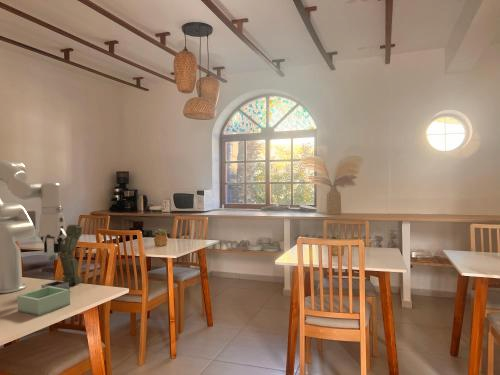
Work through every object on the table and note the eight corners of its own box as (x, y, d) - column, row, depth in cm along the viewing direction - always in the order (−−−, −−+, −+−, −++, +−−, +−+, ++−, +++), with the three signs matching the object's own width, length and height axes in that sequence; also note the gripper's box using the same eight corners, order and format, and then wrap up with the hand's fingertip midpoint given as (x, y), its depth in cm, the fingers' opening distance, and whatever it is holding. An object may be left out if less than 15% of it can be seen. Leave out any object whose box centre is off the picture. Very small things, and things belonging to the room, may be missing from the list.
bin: (18, 311, 137) (17, 295, 137) (50, 300, 149) (49, 286, 149) (38, 316, 131) (37, 300, 131) (70, 304, 143) (69, 289, 143)
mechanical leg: (64, 288, 162) (72, 223, 168) (50, 288, 163) (59, 223, 169) (84, 287, 175) (90, 226, 181) (71, 286, 176) (78, 226, 183)
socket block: (41, 296, 154) (40, 285, 154) (58, 291, 161) (57, 280, 161) (52, 299, 150) (52, 287, 150) (69, 293, 158) (69, 282, 157)
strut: (52, 257, 158) (51, 231, 158) (60, 258, 157) (60, 231, 157) (44, 260, 154) (43, 232, 154) (53, 260, 153) (52, 233, 153)
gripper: (74, 210, 157) (75, 251, 157) (41, 209, 160) (42, 249, 161) (61, 211, 149) (62, 254, 150) (28, 211, 153) (29, 253, 154)
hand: (52, 251), depth 156 cm, fingers closed on strut, 4 cm apart
